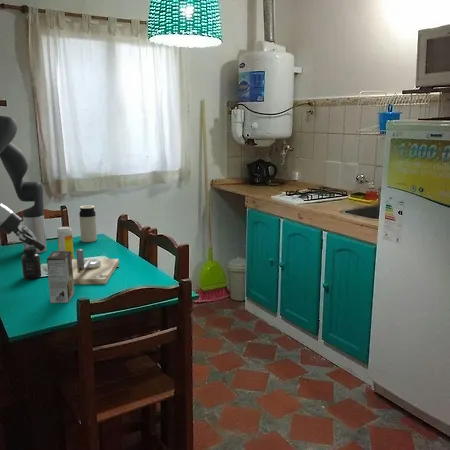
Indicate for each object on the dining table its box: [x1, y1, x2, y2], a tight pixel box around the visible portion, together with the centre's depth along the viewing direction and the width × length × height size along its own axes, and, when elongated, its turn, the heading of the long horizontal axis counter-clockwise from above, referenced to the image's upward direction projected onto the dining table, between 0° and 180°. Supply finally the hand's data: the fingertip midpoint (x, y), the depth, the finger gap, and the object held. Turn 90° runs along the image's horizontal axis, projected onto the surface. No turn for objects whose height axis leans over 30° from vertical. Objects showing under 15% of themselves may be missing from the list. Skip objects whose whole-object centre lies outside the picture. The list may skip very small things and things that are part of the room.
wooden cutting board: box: [72, 258, 120, 285], centre depth 194 cm, size 20×27×2 cm
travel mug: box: [78, 204, 98, 243], centre depth 245 cm, size 8×8×18 cm
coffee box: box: [46, 250, 75, 304], centre depth 166 cm, size 9×6×16 cm
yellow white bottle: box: [57, 226, 75, 259], centre depth 210 cm, size 6×6×15 cm
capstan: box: [75, 248, 101, 273], centre depth 190 cm, size 21×9×10 cm, turn 2°
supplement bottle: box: [20, 247, 42, 281], centre depth 188 cm, size 7×7×12 cm
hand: (43, 249), depth 178 cm, fingers closed
